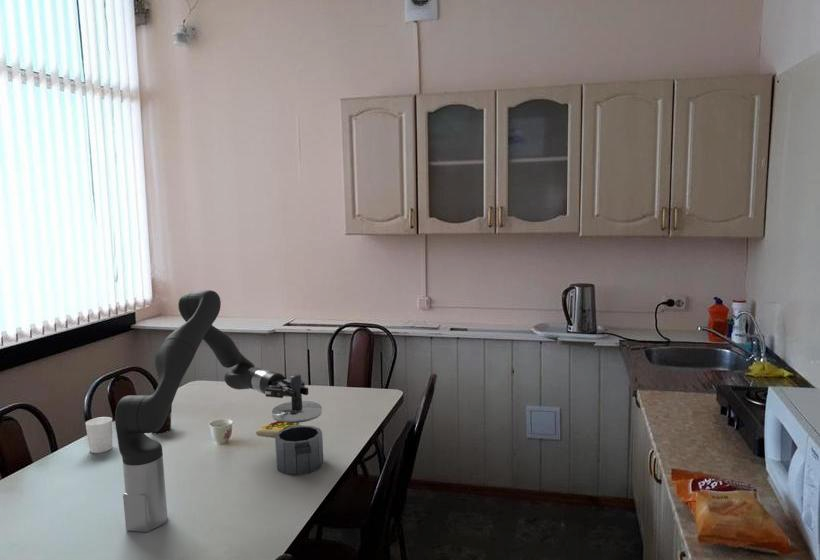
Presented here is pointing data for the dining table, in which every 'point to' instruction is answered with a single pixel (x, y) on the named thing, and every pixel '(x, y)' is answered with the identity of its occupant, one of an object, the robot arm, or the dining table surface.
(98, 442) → the white cup
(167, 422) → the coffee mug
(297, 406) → the lid
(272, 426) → the pizza slice
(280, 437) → the pot
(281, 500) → the dining table surface
